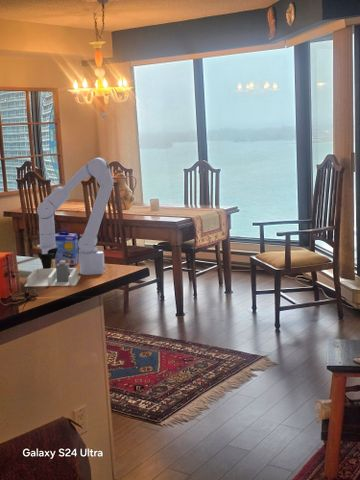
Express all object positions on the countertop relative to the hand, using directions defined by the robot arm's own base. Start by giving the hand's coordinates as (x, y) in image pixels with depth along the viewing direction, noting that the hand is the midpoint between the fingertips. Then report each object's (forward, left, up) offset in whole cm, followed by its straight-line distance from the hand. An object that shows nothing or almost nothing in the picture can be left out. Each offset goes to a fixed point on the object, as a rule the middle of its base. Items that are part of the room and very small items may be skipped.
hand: (49, 269), depth 240 cm
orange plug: (0, 0, -3) cm, 3 cm away
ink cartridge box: (-3, -20, -3) cm, 20 cm away
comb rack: (-4, +12, -2) cm, 13 cm away
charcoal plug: (-7, +12, -2) cm, 14 cm away
